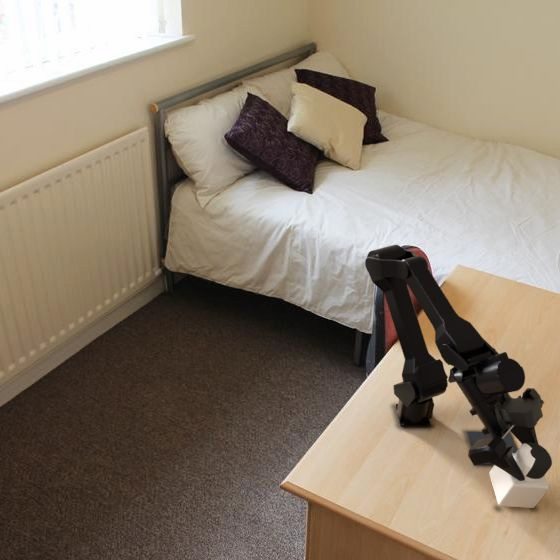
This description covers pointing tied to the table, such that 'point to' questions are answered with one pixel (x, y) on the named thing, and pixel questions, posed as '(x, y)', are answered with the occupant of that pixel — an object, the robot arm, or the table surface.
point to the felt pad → (480, 435)
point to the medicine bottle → (533, 467)
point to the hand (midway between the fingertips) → (531, 469)
